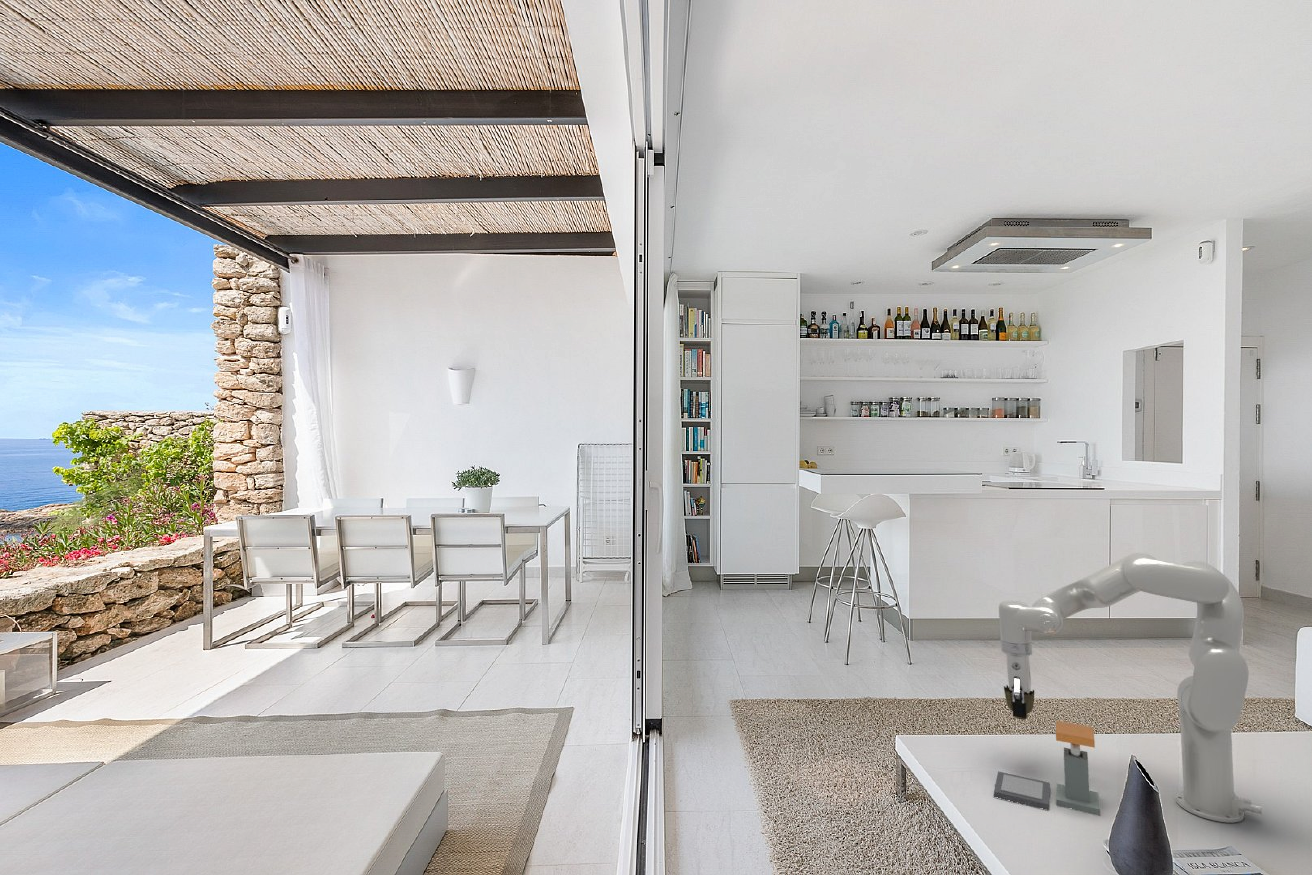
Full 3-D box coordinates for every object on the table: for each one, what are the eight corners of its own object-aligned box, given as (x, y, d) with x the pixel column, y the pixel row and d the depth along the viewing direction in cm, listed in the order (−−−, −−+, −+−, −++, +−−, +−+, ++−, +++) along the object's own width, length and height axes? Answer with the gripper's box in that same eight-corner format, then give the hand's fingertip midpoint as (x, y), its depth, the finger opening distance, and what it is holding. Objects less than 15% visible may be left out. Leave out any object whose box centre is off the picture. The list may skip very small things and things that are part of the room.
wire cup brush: (1042, 722, 173) (1040, 693, 173) (1014, 723, 173) (1012, 694, 173) (1026, 711, 181) (1024, 683, 181) (1000, 712, 181) (998, 684, 181)
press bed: (1050, 788, 167) (1049, 781, 167) (1049, 810, 157) (1048, 803, 157) (998, 776, 174) (998, 770, 174) (994, 797, 163) (993, 790, 164)
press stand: (1098, 798, 162) (1096, 750, 162) (1100, 815, 154) (1098, 765, 155) (1056, 788, 167) (1054, 742, 167) (1056, 805, 159) (1054, 756, 159)
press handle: (1095, 774, 162) (1093, 726, 162) (1096, 789, 155) (1094, 739, 155) (1058, 767, 166) (1056, 720, 166) (1057, 780, 159) (1055, 732, 160)
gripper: (1030, 657, 168) (1035, 726, 168) (1033, 640, 183) (1037, 703, 182) (998, 653, 172) (1002, 721, 172) (1003, 637, 187) (1007, 699, 186)
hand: (1020, 711), depth 177 cm, fingers closed on wire cup brush, 6 cm apart
